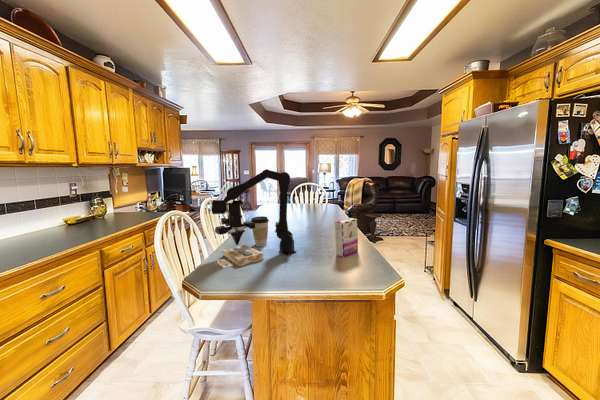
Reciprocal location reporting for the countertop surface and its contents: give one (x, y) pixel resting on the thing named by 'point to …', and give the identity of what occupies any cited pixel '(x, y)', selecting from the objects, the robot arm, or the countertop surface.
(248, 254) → the button
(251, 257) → the button board
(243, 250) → the button middle
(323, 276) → the countertop surface
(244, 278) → the countertop surface
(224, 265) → the card
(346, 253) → the candy bar box
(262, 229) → the coffee cup
